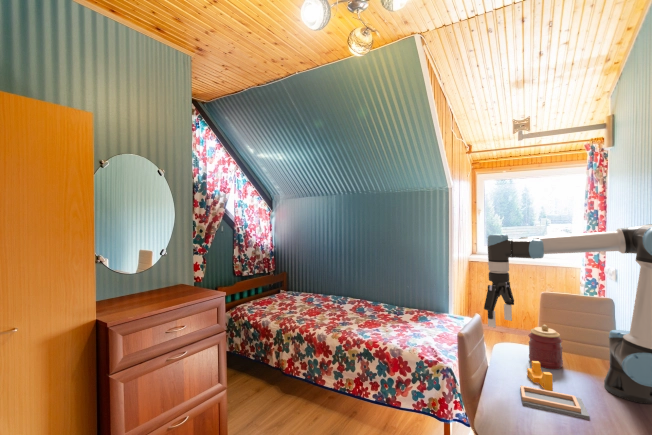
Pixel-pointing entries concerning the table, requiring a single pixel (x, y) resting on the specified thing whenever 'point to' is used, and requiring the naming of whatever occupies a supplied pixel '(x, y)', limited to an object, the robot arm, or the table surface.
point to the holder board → (553, 402)
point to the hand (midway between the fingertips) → (500, 323)
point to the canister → (545, 347)
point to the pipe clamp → (540, 376)
